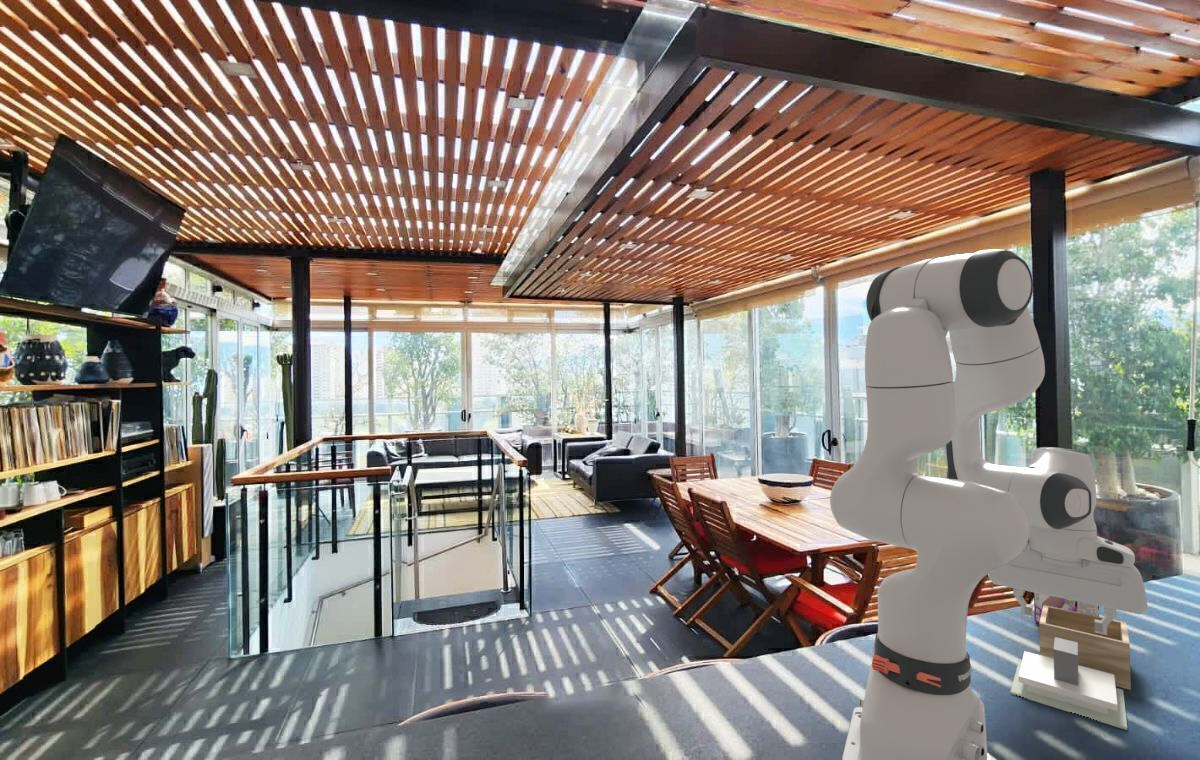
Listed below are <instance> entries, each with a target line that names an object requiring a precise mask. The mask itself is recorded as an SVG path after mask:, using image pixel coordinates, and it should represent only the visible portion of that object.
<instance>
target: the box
mask: <svg viewBox="0 0 1200 760" xmlns="http://www.w3.org/2000/svg"><path fill="white" fill-rule="evenodd" d="M1103 618H1104V616H1103V617H1102V616H1100V615H1099V616H1094V615H1089V614H1084V613H1080V612H1075V611H1070V610H1066V609H1061V608H1056V607H1052V606H1047V605H1043V609H1042V614H1041V618H1040V622H1039V623H1038V626H1039V628H1038V629H1039V631H1038V632H1039V655H1042V656H1045V657H1049V658H1053V659H1054V641H1055V637H1057V638H1061V639H1065V640H1069V641H1073V642H1077V643H1078V665H1080V666H1084V667H1087V668H1091V669H1095V670H1099V671H1103V672H1107V673H1110V674H1114V678H1115V687H1119V688H1122V689H1126V690H1128V691H1129V690H1130V691H1131V690H1132V687H1131V685H1132V684H1131V652H1130V651H1131V648H1130V647H1131V646H1130V638H1129V631H1128V626H1127V622H1125V621H1121V620H1118V619H1117V620H1116V619H1113V620H1112V621H1111V622H1110V623H1109V624H1108V625H1107V635H1104V634H1100V633H1096V632H1095V619H1096V620H1102V619H1103Z"/></svg>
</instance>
